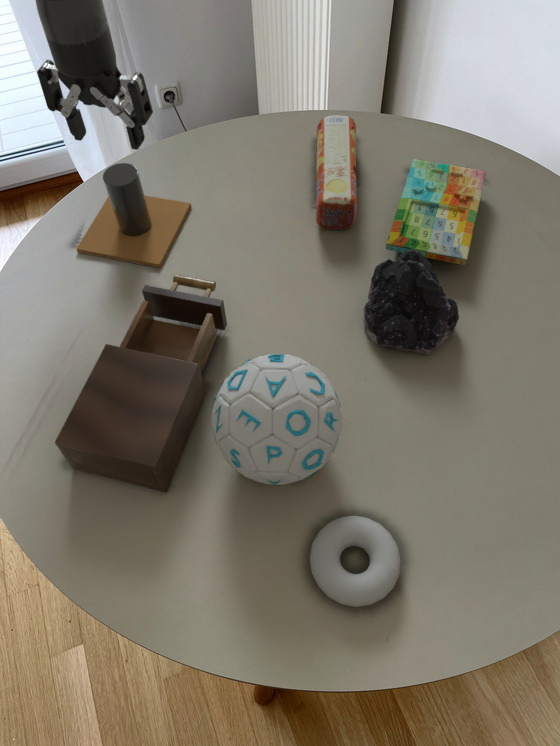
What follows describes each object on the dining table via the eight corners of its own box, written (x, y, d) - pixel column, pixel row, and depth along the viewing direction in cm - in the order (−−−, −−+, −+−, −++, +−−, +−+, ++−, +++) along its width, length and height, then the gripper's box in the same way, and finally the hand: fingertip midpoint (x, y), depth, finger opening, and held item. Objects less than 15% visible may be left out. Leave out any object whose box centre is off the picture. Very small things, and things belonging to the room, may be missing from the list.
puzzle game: (487, 166, 103) (468, 255, 92) (481, 189, 106) (461, 278, 96) (414, 153, 105) (386, 239, 95) (410, 177, 109) (383, 262, 98)
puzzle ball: (213, 502, 78) (195, 444, 65) (226, 395, 86) (212, 325, 74) (340, 507, 77) (346, 449, 65) (340, 398, 85) (346, 328, 73)
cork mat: (77, 252, 102) (76, 248, 101) (113, 193, 109) (112, 189, 109) (160, 268, 99) (159, 264, 99) (191, 206, 107) (190, 202, 106)
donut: (310, 521, 76) (309, 609, 71) (310, 510, 73) (309, 600, 68) (395, 523, 76) (401, 611, 70) (399, 511, 73) (405, 602, 67)
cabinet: (119, 374, 89) (105, 343, 83) (206, 393, 87) (198, 363, 81) (72, 468, 81) (54, 442, 75) (166, 492, 79) (155, 467, 73)
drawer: (163, 287, 96) (156, 262, 92) (236, 302, 94) (232, 277, 90) (114, 385, 87) (104, 363, 82) (195, 403, 85) (189, 381, 80)
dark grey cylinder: (113, 233, 103) (96, 183, 95) (126, 211, 106) (111, 160, 97) (144, 239, 102) (129, 188, 94) (156, 216, 105) (143, 165, 96)
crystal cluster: (427, 378, 87) (448, 332, 79) (340, 331, 91) (352, 283, 83) (465, 316, 94) (489, 268, 86) (383, 275, 98) (398, 225, 90)
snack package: (356, 232, 102) (358, 199, 96) (313, 232, 102) (314, 199, 97) (354, 146, 114) (357, 112, 108) (316, 146, 114) (317, 112, 109)
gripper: (143, 15, 78) (166, 132, 91) (36, 2, 80) (74, 118, 94) (118, 49, 74) (146, 166, 87) (6, 34, 76) (50, 150, 90)
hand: (109, 141), depth 91 cm, fingers open, 8 cm apart
